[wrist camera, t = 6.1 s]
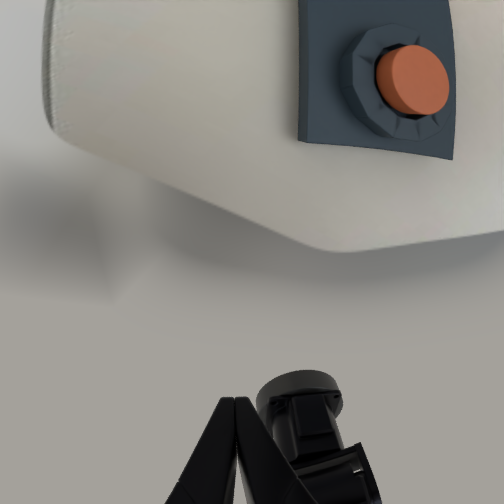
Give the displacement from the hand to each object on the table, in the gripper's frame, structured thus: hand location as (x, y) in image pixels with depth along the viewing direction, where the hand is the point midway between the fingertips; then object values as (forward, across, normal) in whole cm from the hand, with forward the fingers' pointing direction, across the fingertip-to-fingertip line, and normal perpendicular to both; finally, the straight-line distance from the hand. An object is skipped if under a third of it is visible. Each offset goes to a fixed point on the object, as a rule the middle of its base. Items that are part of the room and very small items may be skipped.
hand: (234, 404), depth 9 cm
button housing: (+12, -9, -13) cm, 20 cm away
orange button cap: (+8, -9, -11) cm, 17 cm away
